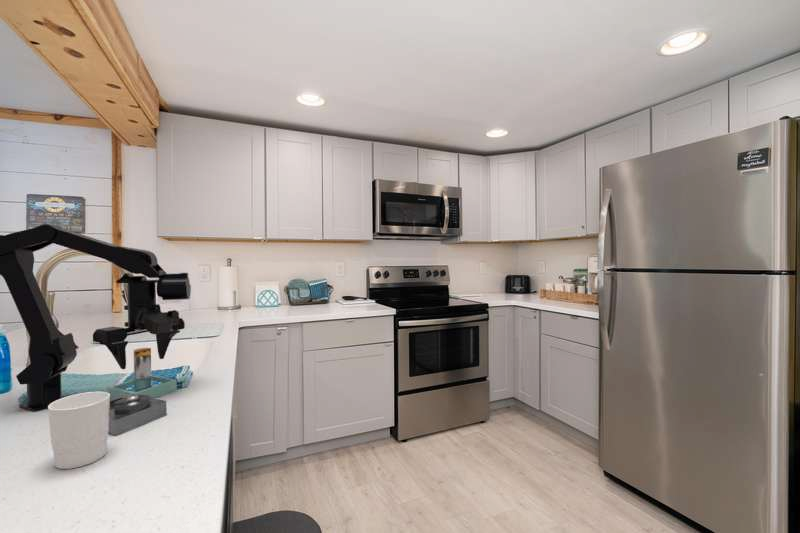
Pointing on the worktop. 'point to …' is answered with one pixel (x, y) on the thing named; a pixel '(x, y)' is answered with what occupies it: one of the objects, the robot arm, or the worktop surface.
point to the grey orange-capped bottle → (142, 369)
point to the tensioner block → (133, 412)
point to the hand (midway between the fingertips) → (143, 363)
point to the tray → (152, 392)
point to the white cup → (79, 428)
